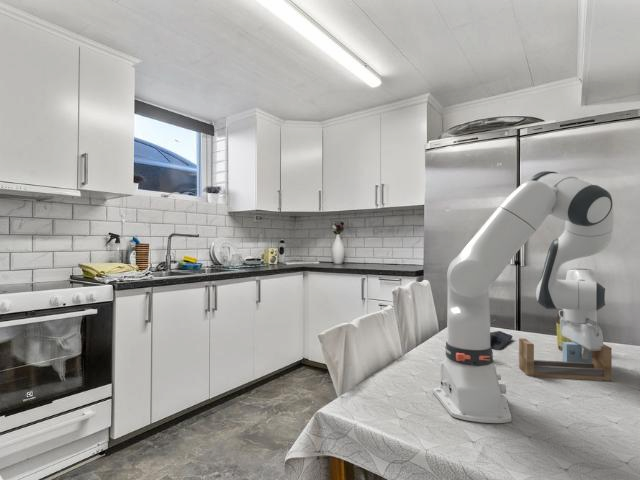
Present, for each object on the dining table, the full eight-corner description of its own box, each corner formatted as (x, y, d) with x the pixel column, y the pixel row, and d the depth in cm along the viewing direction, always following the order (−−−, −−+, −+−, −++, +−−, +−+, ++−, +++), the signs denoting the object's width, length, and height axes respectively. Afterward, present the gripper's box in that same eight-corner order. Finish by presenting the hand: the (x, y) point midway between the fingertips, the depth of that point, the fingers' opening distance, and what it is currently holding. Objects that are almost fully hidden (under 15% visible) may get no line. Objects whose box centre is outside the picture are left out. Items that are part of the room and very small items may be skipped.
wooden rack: (612, 381, 110) (612, 348, 110) (527, 375, 115) (527, 344, 115) (597, 371, 118) (597, 341, 118) (518, 367, 122) (518, 337, 122)
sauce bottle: (570, 347, 145) (570, 298, 145) (580, 352, 139) (579, 301, 139) (553, 347, 146) (553, 298, 146) (562, 351, 140) (561, 300, 140)
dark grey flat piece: (519, 342, 155) (519, 331, 155) (498, 352, 141) (498, 340, 141) (483, 335, 167) (483, 324, 167) (461, 344, 152) (461, 333, 152)
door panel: (601, 370, 119) (601, 346, 119) (568, 368, 121) (568, 345, 121) (594, 366, 123) (594, 343, 123) (562, 364, 125) (562, 341, 125)
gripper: (609, 323, 112) (609, 367, 112) (575, 310, 132) (575, 348, 132) (587, 322, 113) (587, 366, 113) (556, 310, 133) (556, 347, 133)
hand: (580, 356), depth 123 cm, fingers closed on door panel, 3 cm apart
